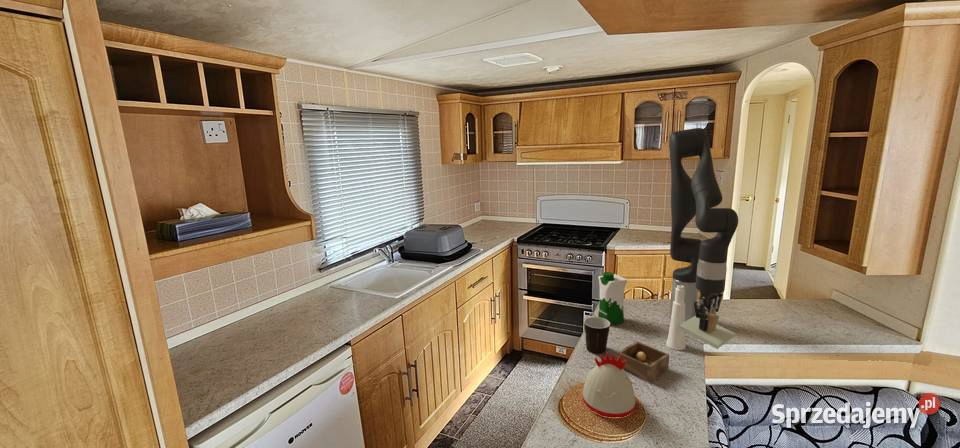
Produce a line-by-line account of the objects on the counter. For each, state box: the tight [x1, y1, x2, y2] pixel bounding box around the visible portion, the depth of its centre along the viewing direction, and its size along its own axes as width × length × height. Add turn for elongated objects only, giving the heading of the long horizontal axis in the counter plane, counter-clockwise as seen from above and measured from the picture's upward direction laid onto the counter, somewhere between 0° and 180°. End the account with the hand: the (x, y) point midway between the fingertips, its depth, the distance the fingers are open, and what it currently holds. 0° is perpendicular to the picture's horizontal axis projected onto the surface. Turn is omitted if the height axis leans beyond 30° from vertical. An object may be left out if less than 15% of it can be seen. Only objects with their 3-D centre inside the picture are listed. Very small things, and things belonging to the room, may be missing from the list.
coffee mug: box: [583, 316, 611, 355], centre depth 134 cm, size 12×9×10 cm
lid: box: [678, 313, 736, 350], centre depth 119 cm, size 12×12×6 cm
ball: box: [636, 352, 646, 361], centre depth 127 cm, size 3×3×3 cm
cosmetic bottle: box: [665, 285, 687, 351], centre depth 134 cm, size 6×6×22 cm
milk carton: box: [597, 271, 628, 326], centre depth 155 cm, size 9×9×20 cm
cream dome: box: [581, 350, 636, 417], centre depth 107 cm, size 14×14×15 cm
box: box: [616, 340, 670, 384], centre depth 124 cm, size 11×11×5 cm
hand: (705, 328), depth 120 cm, fingers closed on lid, 3 cm apart
